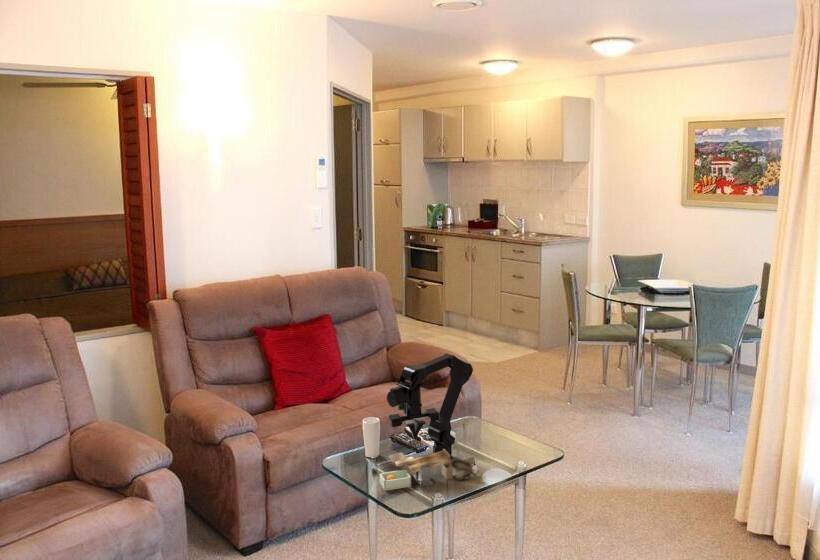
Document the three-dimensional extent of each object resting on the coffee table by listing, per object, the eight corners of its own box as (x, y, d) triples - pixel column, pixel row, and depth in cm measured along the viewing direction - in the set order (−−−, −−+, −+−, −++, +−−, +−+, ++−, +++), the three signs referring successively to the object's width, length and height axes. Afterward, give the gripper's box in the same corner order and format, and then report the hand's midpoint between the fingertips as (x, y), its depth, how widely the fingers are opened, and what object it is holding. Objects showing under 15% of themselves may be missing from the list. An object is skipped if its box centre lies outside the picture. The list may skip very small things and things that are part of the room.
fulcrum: (446, 470, 274) (446, 453, 273) (454, 481, 266) (454, 463, 265) (412, 475, 271) (412, 458, 269) (420, 486, 262) (419, 468, 261)
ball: (394, 479, 265) (392, 472, 265) (397, 483, 262) (395, 475, 262) (386, 482, 265) (384, 475, 264) (389, 486, 262) (386, 479, 261)
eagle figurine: (470, 466, 275) (448, 465, 272) (477, 455, 270) (455, 455, 268) (475, 484, 269) (452, 484, 267) (482, 474, 265) (459, 473, 262)
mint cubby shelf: (405, 478, 269) (405, 469, 268) (411, 486, 262) (411, 477, 262) (379, 482, 266) (379, 473, 265) (384, 490, 259) (384, 481, 259)
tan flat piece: (438, 446, 279) (437, 440, 278) (451, 461, 266) (450, 455, 265) (389, 460, 274) (388, 454, 273) (400, 476, 261) (399, 470, 260)
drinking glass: (373, 461, 283) (372, 424, 280) (359, 456, 287) (358, 420, 284) (384, 455, 289) (383, 419, 286) (371, 450, 293) (370, 415, 290)
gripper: (430, 389, 282) (431, 426, 285) (383, 395, 277) (385, 434, 280) (439, 399, 272) (440, 438, 275) (391, 406, 266) (393, 445, 270)
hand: (414, 438), depth 275 cm, fingers closed
